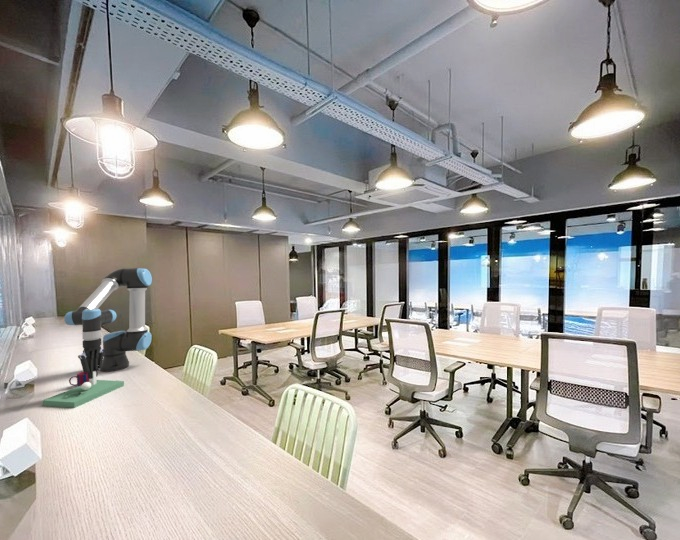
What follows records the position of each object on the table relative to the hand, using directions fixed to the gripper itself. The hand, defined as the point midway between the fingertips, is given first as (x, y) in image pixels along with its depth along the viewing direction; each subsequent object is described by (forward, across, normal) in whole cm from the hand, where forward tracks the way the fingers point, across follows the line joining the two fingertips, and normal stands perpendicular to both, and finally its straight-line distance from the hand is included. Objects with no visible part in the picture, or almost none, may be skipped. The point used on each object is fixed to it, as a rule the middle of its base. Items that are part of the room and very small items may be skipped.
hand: (92, 384), depth 155 cm
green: (+4, +3, 0) cm, 5 cm away
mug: (+4, -7, -15) cm, 17 cm away
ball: (-2, +4, 0) cm, 5 cm away
